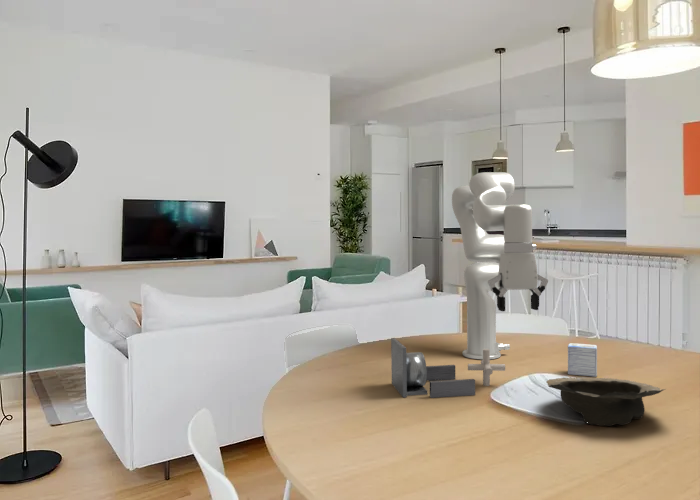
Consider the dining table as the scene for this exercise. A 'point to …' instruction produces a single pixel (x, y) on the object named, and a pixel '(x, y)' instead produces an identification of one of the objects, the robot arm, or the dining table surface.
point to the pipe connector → (486, 367)
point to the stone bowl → (604, 398)
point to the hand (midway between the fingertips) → (518, 310)
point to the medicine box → (582, 359)
